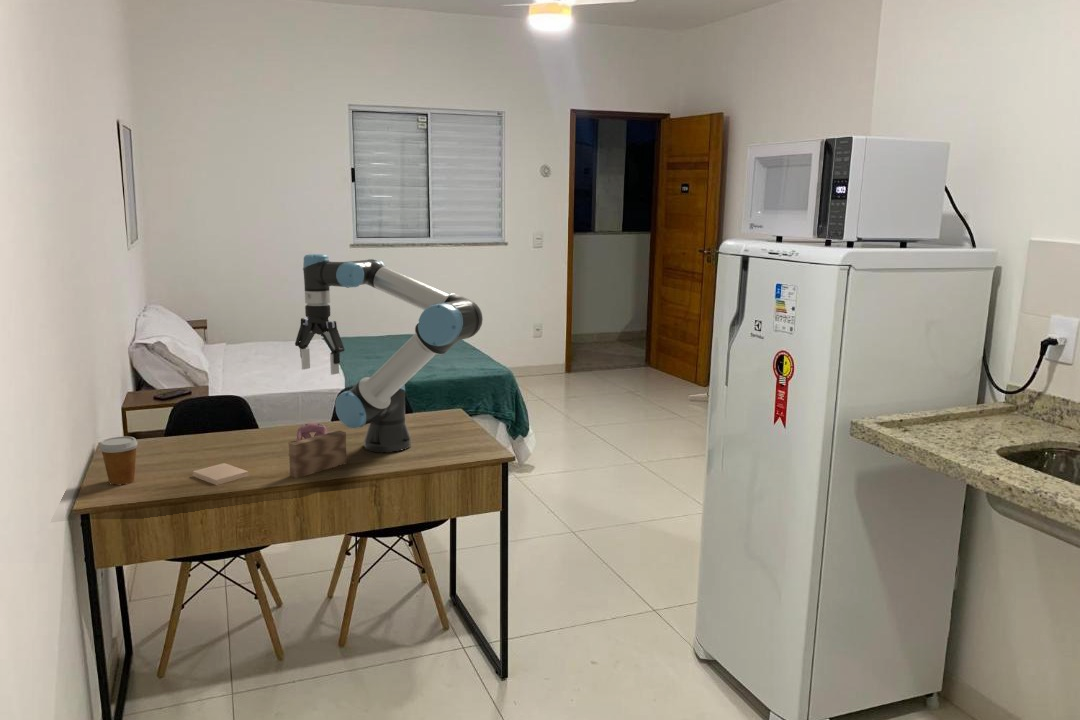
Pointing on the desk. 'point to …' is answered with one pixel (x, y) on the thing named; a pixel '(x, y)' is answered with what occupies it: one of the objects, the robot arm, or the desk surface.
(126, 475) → the disposable coffee cup
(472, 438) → the desk surface
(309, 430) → the video game controller
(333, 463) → the wooden plank
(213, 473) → the tile
